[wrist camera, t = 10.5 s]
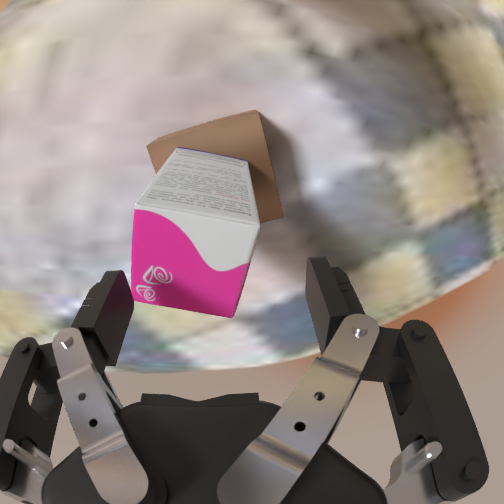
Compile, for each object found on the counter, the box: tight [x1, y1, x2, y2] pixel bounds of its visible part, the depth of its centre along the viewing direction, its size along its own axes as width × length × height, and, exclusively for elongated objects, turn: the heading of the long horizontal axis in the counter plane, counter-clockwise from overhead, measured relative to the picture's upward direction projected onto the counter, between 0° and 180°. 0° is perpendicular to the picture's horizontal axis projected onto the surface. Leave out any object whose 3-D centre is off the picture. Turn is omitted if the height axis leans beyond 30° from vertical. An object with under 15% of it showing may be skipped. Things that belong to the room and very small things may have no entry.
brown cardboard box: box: [147, 110, 283, 223], centre depth 25 cm, size 9×9×4 cm
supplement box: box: [131, 147, 261, 318], centre depth 19 cm, size 6×6×12 cm
